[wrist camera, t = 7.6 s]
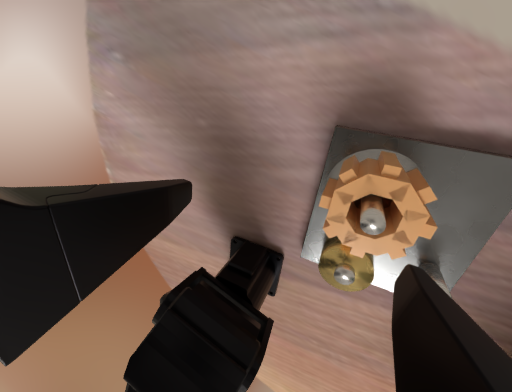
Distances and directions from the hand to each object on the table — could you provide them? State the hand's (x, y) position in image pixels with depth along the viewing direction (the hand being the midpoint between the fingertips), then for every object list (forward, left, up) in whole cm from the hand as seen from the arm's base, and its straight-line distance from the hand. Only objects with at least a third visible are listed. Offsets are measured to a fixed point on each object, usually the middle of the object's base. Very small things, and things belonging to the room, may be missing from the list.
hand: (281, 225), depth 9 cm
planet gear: (-2, -4, -11) cm, 12 cm away
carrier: (-4, -6, -12) cm, 14 cm away
